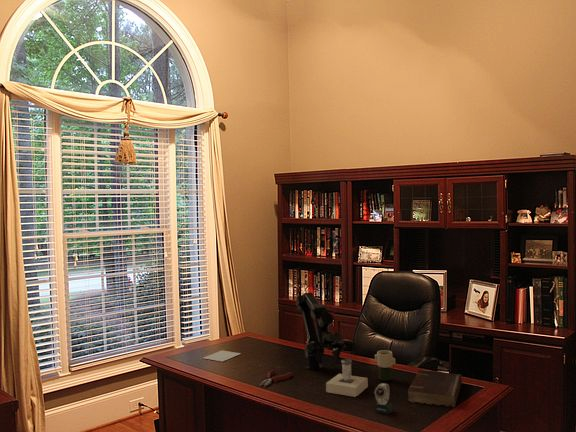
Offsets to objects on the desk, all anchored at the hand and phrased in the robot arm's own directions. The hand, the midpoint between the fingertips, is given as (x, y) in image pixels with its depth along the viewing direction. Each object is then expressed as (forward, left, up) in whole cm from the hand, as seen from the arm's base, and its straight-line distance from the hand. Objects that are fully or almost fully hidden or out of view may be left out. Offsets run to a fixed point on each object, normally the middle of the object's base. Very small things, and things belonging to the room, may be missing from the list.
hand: (329, 364), depth 247 cm
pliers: (+7, -28, -10) cm, 30 cm away
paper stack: (-10, -68, -9) cm, 69 cm away
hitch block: (+4, +10, -9) cm, 14 cm away
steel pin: (+4, +10, -9) cm, 14 cm away
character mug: (-15, +21, -9) cm, 28 cm away
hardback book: (-9, +46, -10) cm, 48 cm away
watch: (+21, +33, -9) cm, 40 cm away
